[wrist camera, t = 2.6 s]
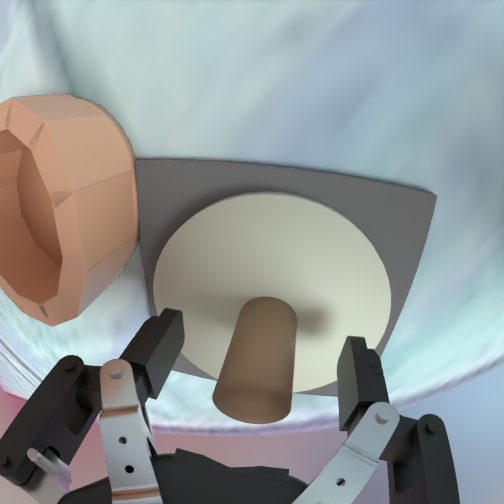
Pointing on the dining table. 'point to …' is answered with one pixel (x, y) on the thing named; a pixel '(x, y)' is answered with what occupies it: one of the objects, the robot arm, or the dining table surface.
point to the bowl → (63, 204)
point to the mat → (291, 181)
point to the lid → (271, 297)
